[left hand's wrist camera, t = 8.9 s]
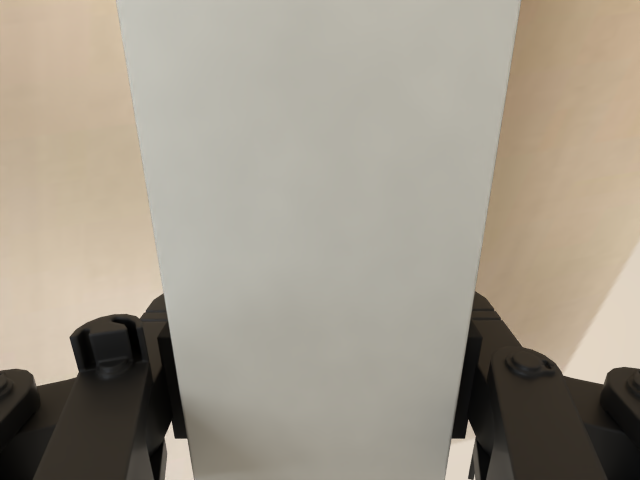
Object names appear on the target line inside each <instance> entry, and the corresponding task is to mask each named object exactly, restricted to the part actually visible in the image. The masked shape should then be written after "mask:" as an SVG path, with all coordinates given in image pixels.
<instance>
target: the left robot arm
mask: <svg viewBox="0 0 640 480" xmlns="http://www.w3.org/2000/svg"><path fill="white" fill-rule="evenodd" d="M70 341H71V345H72V348H73V352H74V355H75V359H76V363H77V366H78V370H79V373H78V375H77V377H76V378H73V379H69V380H65V381H60V382H55V383H50V384H46V385H41V386H36V383H35V380H34V377H33V375H32V374H31V373H29V372H28V371H27V370H20V369H10V370H2V371H0V480H165V470H166V461H167V450H166V444H165V438H164V437H165V434H166V432H167V430H168V428H169V425H170V423H171V421H172V425H173V431H174V436H175V439H187V433H186V427H185V420H184V414H183V408H182V402H181V396H180V390H179V384H178V377H177V371H176V365H175V359H174V353H173V347H172V341H171V335H170V328H169V322H168V316H167V310H166V304H165V298H164V294H162V295H160V296H159V297H157V298H156V299H154V300H153V302H152V303H151V304H150V306H149V307H148V308H147V310H146V313H144V314H143V315H142V316H141V318H140V319H139V318H138V317H136V316H133V315H128V314H114V315H109V316H104V317H100V318H97V319H95V320H92V321H90V322H87V323H86V324H84V325H82V326H81V327H79V328H78V329H76V330H75V331H74V333H73V334H72V335H71V336H70ZM468 419H469V421H470V424H471V426H472V428H473V431H474V433H475V435H476V438H475V444H474V449H473V454H472V459H471V465H470V470H469V476H468V479H471V480H473V479H474V474H475V479H476V480H640V369H636V368H628V367H622V368H614V369H612V370H611V371H610V372H608V373H607V376H606V379H605V382H604V385H603V384H598V383H593V382H588V381H583V380H579V379H574V378H570V377H566V376H563V375H562V372H561V370H560V369H559V368H558V366H557V365H556V364H555V363H554V362H553V361H552V360H550V359H549V358H548V357H546V356H545V355H543V354H541V353H538V352H536V351H534V350H531V349H527V348H523V347H522V346H521V344H520V343H519V342H518V340H517V339H516V338H515V336H514V335H513V334H512V332H511V331H510V330H509V328H508V327H507V326H506V324H505V323H504V322H503V320H501V318H500V316H499V315H498V314H497V312H496V311H494V308H493V307H492V306H491V304H490V303H489V302H488V300H487V299H486V298H485V297H483V296H482V295H480V294H478V293H477V292H475V293H474V299H473V306H472V312H471V318H470V324H469V331H468V337H467V343H466V350H465V356H464V362H463V368H462V375H461V381H460V387H459V393H458V400H457V406H456V412H455V418H454V425H453V431H452V437H451V439H465V435H466V429H467V424H468Z"/></svg>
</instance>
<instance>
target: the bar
mask: <svg viewBox="0 0 640 480" xmlns="http://www.w3.org/2000/svg"><path fill="white" fill-rule="evenodd" d="M116 3H117V9H118V16H119V22H120V28H121V34H122V40H123V46H124V52H125V58H126V65H127V71H128V77H129V83H130V89H131V95H132V101H133V108H134V114H135V120H136V126H137V132H138V138H139V144H140V151H141V157H142V163H143V169H144V175H145V181H146V187H147V193H148V200H149V206H150V212H151V218H152V224H153V230H154V236H155V243H156V249H157V255H158V261H159V267H160V273H161V279H162V285H163V292H164V298H165V304H166V310H167V316H168V322H169V328H170V335H171V341H172V347H173V353H174V359H175V365H176V371H177V377H178V384H179V390H180V396H181V402H182V408H183V414H184V420H185V427H186V433H187V439H188V445H189V451H190V457H191V463H192V469H193V476H194V480H445V475H446V468H447V462H448V456H449V450H450V444H451V437H452V431H453V425H454V418H455V412H456V406H457V400H458V393H459V387H460V381H461V375H462V368H463V362H464V356H465V350H466V343H467V337H468V331H469V324H470V318H471V312H472V306H473V299H474V293H475V287H476V281H477V274H478V268H479V262H480V255H481V249H482V243H483V237H484V230H485V224H486V218H487V212H488V205H489V199H490V193H491V187H492V180H493V174H494V168H495V161H496V155H497V149H498V143H499V136H500V130H501V124H502V118H503V111H504V105H505V99H506V92H507V86H508V80H509V74H510V67H511V61H512V55H513V49H514V42H515V36H516V30H517V23H518V17H519V11H520V5H521V0H116Z"/></svg>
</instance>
